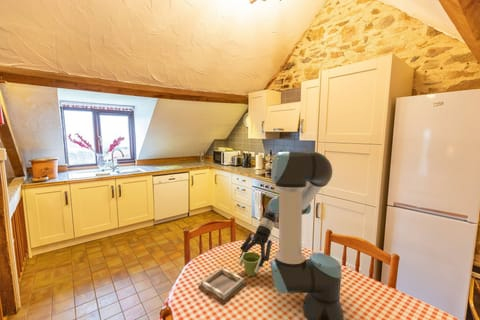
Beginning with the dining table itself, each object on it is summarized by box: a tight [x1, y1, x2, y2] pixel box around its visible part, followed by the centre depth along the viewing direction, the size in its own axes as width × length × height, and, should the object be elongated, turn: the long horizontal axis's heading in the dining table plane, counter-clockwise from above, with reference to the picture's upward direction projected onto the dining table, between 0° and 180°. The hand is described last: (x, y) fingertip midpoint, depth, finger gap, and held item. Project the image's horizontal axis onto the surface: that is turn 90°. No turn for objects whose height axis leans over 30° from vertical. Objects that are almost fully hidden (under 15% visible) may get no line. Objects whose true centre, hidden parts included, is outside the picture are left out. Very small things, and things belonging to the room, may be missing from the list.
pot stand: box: [198, 266, 248, 304], centre depth 105 cm, size 16×16×3 cm
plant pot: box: [242, 251, 261, 277], centre depth 115 cm, size 9×9×9 cm
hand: (247, 268), depth 113 cm, fingers closed on plant pot, 9 cm apart
